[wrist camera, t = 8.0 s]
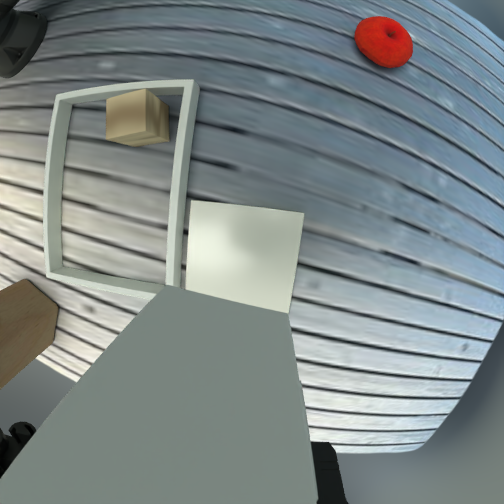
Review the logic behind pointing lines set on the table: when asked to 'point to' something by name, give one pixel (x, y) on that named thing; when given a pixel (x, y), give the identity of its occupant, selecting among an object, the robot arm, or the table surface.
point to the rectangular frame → (176, 196)
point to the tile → (243, 253)
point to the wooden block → (24, 327)
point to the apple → (384, 41)
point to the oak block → (137, 119)
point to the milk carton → (177, 415)
